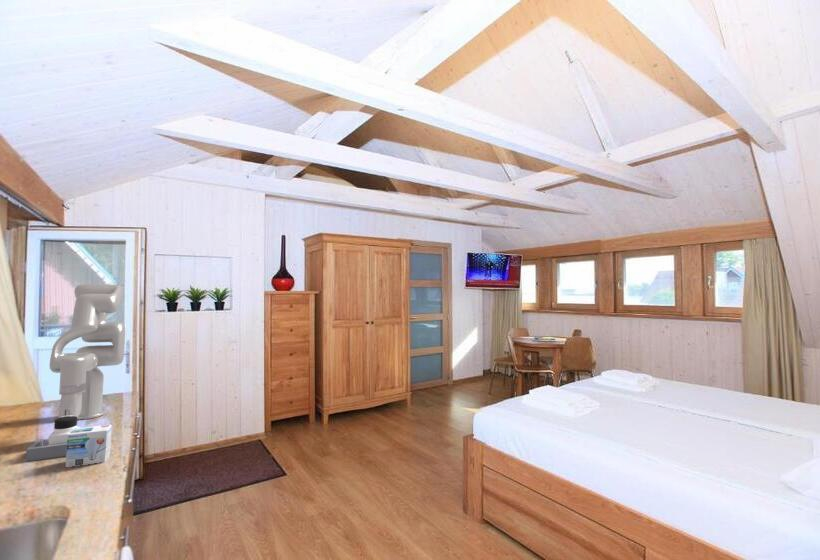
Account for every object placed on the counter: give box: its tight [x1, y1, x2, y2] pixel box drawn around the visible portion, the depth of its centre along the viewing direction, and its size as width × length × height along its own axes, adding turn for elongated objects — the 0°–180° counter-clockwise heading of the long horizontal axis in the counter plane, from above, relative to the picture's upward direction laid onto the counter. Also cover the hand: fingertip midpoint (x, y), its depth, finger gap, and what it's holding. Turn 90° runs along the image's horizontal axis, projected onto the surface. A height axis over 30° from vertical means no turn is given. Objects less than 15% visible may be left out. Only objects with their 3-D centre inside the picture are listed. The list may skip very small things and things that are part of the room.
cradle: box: [25, 438, 67, 463], centre depth 135 cm, size 10×14×4 cm
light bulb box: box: [64, 423, 113, 468], centre depth 129 cm, size 11×7×11 cm, turn 118°
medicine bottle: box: [47, 416, 82, 446], centre depth 136 cm, size 7×7×12 cm
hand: (69, 436), depth 146 cm, fingers closed
